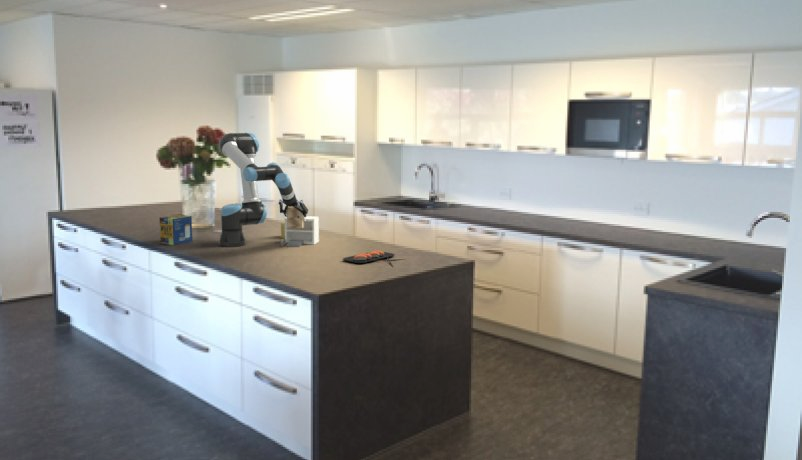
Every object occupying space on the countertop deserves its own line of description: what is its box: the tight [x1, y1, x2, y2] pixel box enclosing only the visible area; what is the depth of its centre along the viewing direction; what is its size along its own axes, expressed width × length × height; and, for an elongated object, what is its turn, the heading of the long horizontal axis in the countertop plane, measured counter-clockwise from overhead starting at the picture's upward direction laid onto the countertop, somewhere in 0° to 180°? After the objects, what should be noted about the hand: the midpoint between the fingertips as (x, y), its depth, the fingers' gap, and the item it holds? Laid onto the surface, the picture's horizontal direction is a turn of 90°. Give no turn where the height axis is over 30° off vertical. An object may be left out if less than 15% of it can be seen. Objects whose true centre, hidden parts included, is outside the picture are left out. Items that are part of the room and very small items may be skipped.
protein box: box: [159, 214, 193, 246], centre depth 395 cm, size 10×15×16 cm
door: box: [287, 206, 304, 228], centre depth 389 cm, size 9×4×12 cm, turn 81°
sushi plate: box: [342, 250, 406, 268], centre depth 353 cm, size 29×30×4 cm
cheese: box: [280, 220, 285, 240], centre depth 416 cm, size 10×11×10 cm
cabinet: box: [280, 215, 320, 247], centre depth 397 cm, size 18×18×15 cm
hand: (297, 219), depth 393 cm, fingers closed on door, 9 cm apart
